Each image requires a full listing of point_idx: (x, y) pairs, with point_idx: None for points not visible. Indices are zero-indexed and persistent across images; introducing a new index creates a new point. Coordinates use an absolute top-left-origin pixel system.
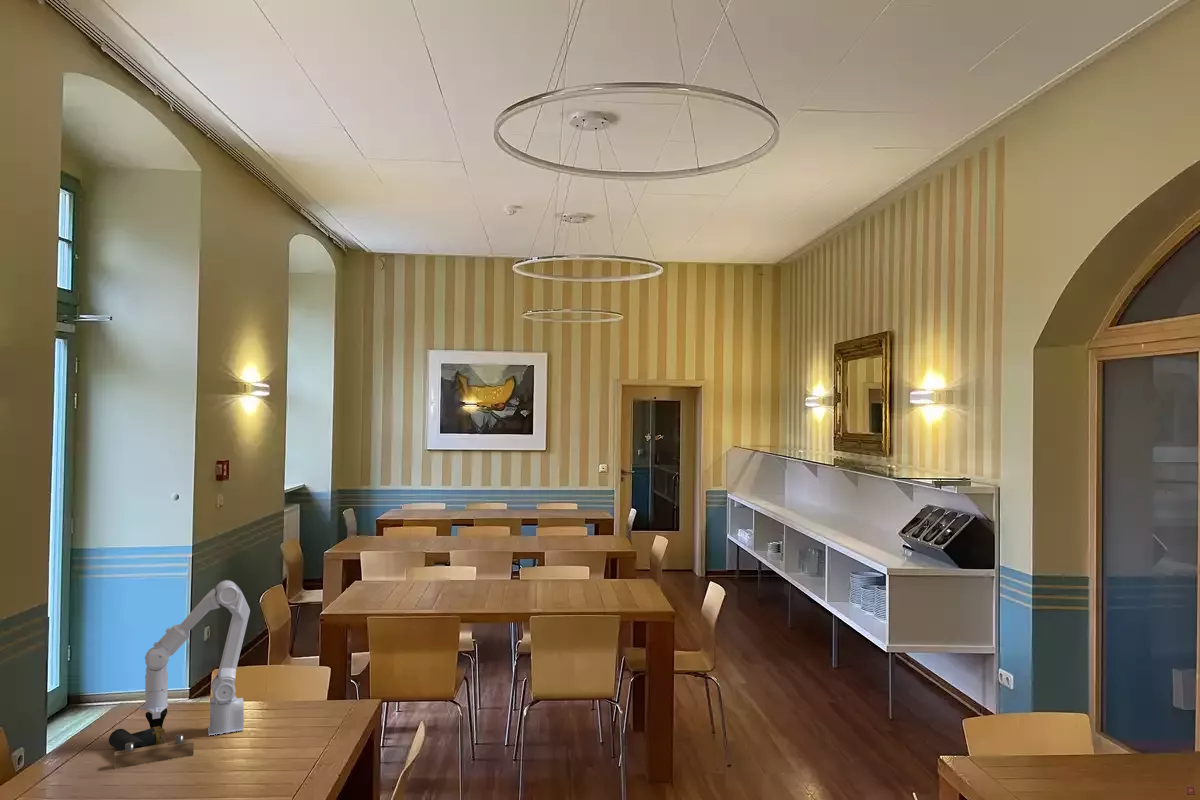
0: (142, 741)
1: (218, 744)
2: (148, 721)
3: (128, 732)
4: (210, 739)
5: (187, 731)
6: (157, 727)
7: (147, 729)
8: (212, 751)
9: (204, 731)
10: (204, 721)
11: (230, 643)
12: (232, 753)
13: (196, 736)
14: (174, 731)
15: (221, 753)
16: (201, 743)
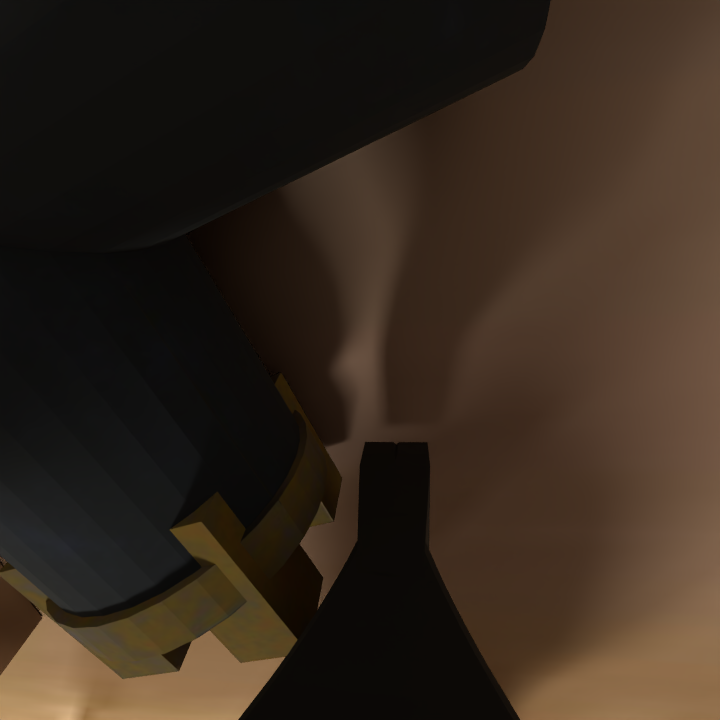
0: None
1: (152, 701)
2: (255, 698)
3: (32, 123)
4: (258, 690)
5: (534, 630)
6: (239, 634)
7: (68, 550)
8: (38, 674)
9: None
10: (714, 714)
11: None
12: (3, 715)
13: None
14: (620, 567)
15: (5, 692)
16: (195, 657)
